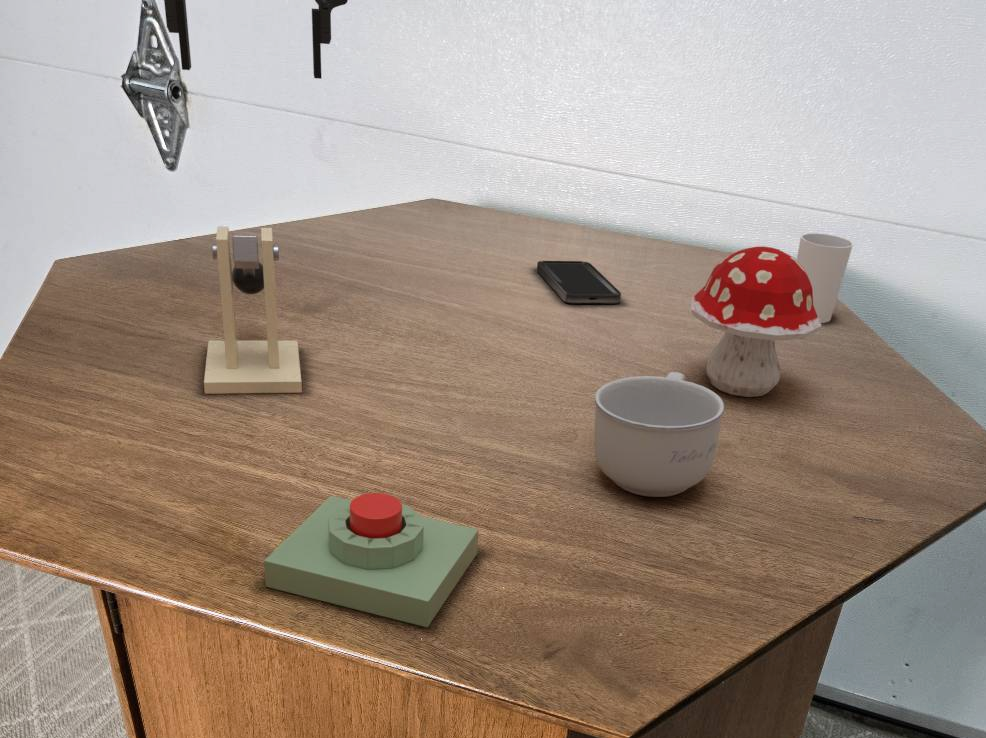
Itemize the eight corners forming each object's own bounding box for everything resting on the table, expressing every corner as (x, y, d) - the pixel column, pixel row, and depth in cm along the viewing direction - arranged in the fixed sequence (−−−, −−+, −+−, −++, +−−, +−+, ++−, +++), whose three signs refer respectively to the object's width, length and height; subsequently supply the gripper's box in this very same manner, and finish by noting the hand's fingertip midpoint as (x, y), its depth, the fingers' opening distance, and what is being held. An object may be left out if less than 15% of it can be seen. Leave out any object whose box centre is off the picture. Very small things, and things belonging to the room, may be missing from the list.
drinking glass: (824, 327, 127) (843, 250, 122) (776, 314, 130) (793, 238, 125) (841, 316, 132) (860, 241, 127) (794, 304, 135) (811, 230, 130)
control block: (265, 586, 68) (262, 537, 66) (331, 519, 76) (330, 474, 74) (427, 628, 65) (429, 578, 63) (477, 554, 74) (480, 508, 72)
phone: (588, 261, 139) (623, 295, 127) (587, 269, 140) (622, 303, 128) (534, 260, 137) (565, 294, 125) (534, 268, 138) (564, 303, 126)
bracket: (209, 351, 102) (196, 216, 95) (297, 351, 105) (292, 219, 97) (204, 394, 93) (190, 248, 86) (301, 392, 96) (295, 251, 88)
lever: (233, 297, 104) (231, 262, 104) (268, 297, 105) (267, 263, 105) (226, 267, 91) (224, 228, 91) (266, 268, 92) (264, 229, 92)
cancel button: (341, 533, 68) (340, 511, 67) (363, 509, 71) (363, 488, 70) (389, 545, 67) (389, 523, 66) (409, 520, 70) (410, 499, 69)
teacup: (680, 524, 80) (697, 436, 76) (563, 485, 84) (573, 399, 80) (736, 463, 91) (753, 382, 87) (630, 430, 95) (642, 352, 91)
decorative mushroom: (650, 374, 108) (671, 236, 100) (736, 354, 116) (762, 225, 108) (743, 422, 99) (775, 275, 91) (830, 397, 107) (866, 260, 99)
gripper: (93, -188, 89) (125, 69, 100) (372, -155, 95) (372, 85, 106) (105, -182, 95) (134, 59, 106) (366, -151, 101) (367, 75, 112)
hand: (253, 73), depth 106 cm, fingers open, 13 cm apart
